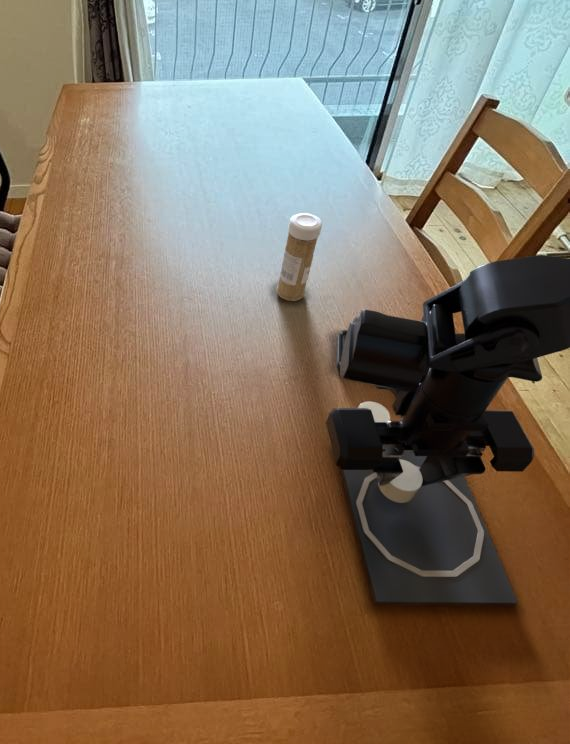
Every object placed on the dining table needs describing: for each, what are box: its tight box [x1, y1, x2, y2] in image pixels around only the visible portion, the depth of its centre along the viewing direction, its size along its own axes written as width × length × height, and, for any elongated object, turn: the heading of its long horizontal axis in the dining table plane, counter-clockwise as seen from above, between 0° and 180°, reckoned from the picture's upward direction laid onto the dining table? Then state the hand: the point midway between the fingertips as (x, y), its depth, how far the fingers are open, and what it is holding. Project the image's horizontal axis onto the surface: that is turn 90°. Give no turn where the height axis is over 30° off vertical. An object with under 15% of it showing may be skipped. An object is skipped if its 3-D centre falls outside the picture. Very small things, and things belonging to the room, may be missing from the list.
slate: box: [339, 452, 519, 608], centre depth 61 cm, size 14×18×1 cm
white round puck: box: [378, 459, 423, 503], centre depth 61 cm, size 4×4×2 cm
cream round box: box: [357, 401, 391, 425], centre depth 70 cm, size 4×4×2 cm
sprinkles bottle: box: [275, 212, 323, 302], centre depth 84 cm, size 5×5×14 cm
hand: (399, 482), depth 61 cm, fingers closed on white round puck, 4 cm apart
